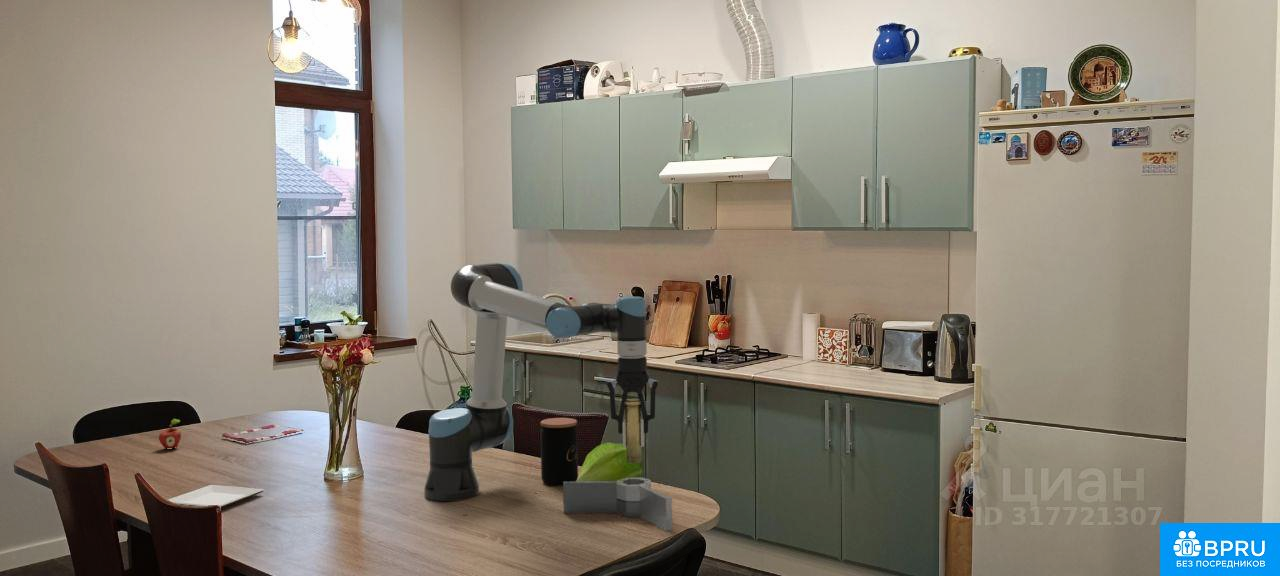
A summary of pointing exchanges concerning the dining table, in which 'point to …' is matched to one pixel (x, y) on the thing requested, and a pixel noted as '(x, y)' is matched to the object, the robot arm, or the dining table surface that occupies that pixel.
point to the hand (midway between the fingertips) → (633, 445)
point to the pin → (633, 430)
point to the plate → (216, 496)
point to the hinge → (619, 499)
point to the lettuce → (608, 464)
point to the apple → (170, 436)
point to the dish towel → (260, 437)
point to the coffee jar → (559, 451)
